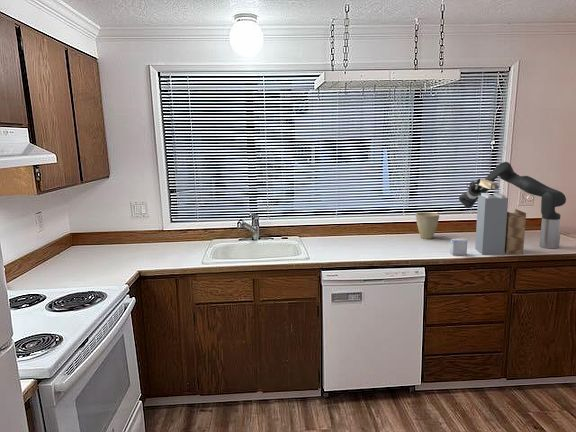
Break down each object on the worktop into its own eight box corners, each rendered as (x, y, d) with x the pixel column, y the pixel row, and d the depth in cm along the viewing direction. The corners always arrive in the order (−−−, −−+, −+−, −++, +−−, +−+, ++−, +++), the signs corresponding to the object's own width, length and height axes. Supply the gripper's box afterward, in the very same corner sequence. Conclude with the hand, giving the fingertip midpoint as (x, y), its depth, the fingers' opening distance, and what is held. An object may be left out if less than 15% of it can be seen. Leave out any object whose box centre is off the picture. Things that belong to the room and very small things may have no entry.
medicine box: (463, 253, 248) (464, 238, 246) (466, 255, 243) (467, 240, 242) (449, 253, 248) (450, 238, 246) (452, 255, 243) (453, 240, 242)
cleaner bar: (483, 184, 263) (483, 179, 262) (499, 190, 238) (500, 183, 237) (477, 184, 263) (477, 179, 263) (493, 190, 238) (493, 184, 237)
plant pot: (443, 239, 281) (444, 215, 278) (422, 241, 278) (423, 216, 275) (430, 234, 295) (431, 211, 292) (410, 236, 292) (411, 212, 289)
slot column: (496, 249, 254) (500, 192, 248) (504, 254, 243) (508, 195, 237) (475, 248, 256) (478, 192, 250) (482, 254, 244) (485, 195, 238)
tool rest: (513, 248, 255) (516, 209, 251) (522, 254, 243) (526, 213, 238) (497, 248, 256) (500, 209, 252) (506, 254, 244) (509, 213, 239)
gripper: (462, 185, 277) (470, 174, 261) (485, 185, 275) (494, 174, 259) (463, 196, 274) (471, 185, 258) (486, 196, 273) (496, 185, 257)
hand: (483, 180), depth 259 cm, fingers closed on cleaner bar, 3 cm apart
